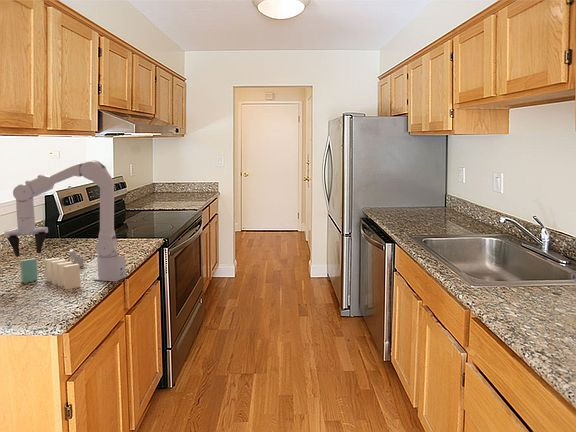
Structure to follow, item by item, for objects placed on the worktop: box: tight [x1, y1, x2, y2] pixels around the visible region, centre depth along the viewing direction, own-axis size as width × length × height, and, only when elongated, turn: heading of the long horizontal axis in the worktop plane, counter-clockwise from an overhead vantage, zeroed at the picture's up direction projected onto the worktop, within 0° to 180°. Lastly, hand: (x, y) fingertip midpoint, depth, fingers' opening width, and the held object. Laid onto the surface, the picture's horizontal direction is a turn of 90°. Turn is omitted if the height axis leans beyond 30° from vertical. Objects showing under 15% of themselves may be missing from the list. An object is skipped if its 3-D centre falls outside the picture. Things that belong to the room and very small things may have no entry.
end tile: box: [19, 257, 39, 283], centre depth 196 cm, size 2×5×8 cm, turn 138°
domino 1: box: [44, 257, 61, 283], centre depth 197 cm, size 2×5×8 cm, turn 138°
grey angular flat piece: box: [68, 249, 84, 268], centre depth 217 cm, size 7×2×8 cm, turn 169°
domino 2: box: [51, 259, 67, 285], centre depth 194 cm, size 2×5×8 cm, turn 138°
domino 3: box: [57, 261, 74, 287], centre depth 191 cm, size 2×5×8 cm, turn 138°
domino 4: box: [63, 263, 82, 290], centre depth 187 cm, size 2×5×8 cm, turn 138°
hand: (28, 254), depth 195 cm, fingers open, 7 cm apart
